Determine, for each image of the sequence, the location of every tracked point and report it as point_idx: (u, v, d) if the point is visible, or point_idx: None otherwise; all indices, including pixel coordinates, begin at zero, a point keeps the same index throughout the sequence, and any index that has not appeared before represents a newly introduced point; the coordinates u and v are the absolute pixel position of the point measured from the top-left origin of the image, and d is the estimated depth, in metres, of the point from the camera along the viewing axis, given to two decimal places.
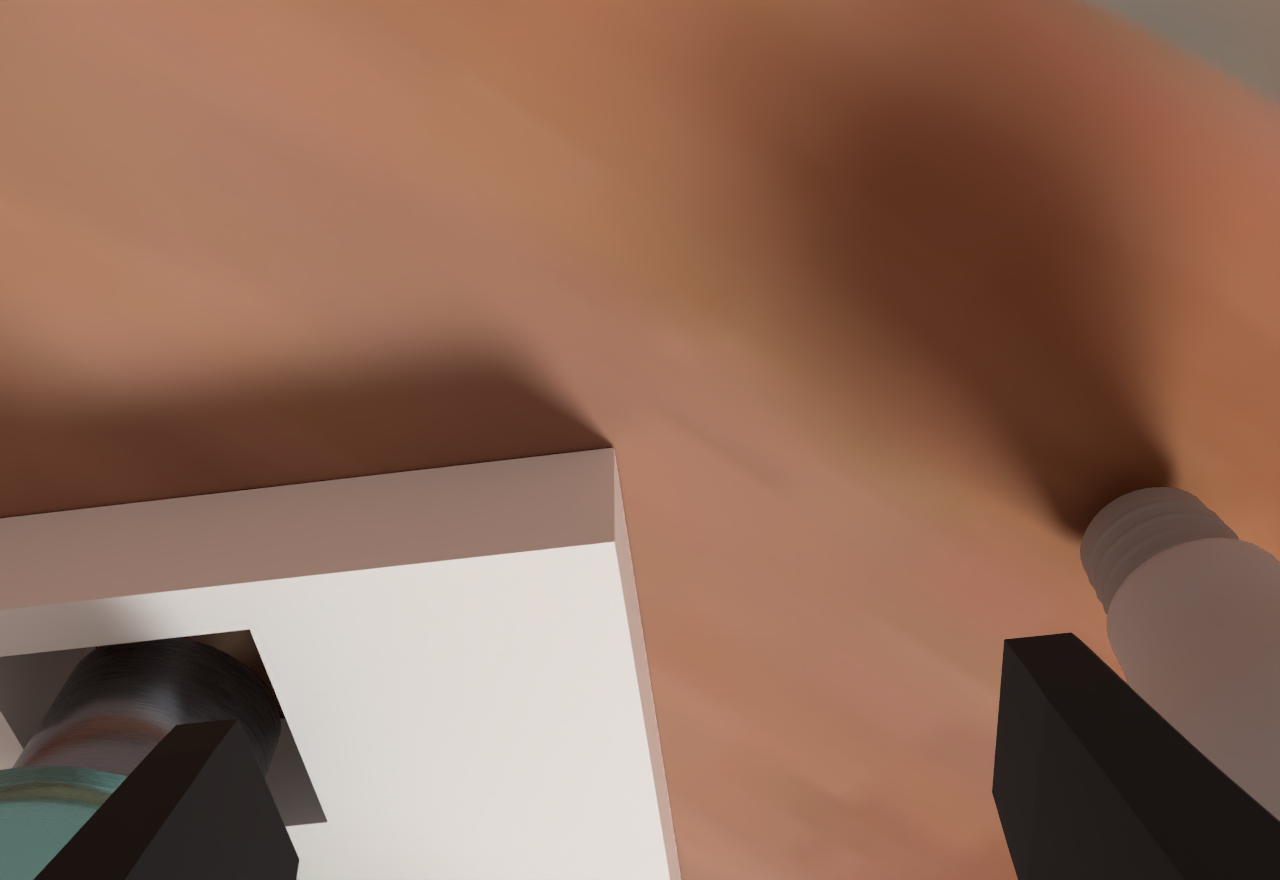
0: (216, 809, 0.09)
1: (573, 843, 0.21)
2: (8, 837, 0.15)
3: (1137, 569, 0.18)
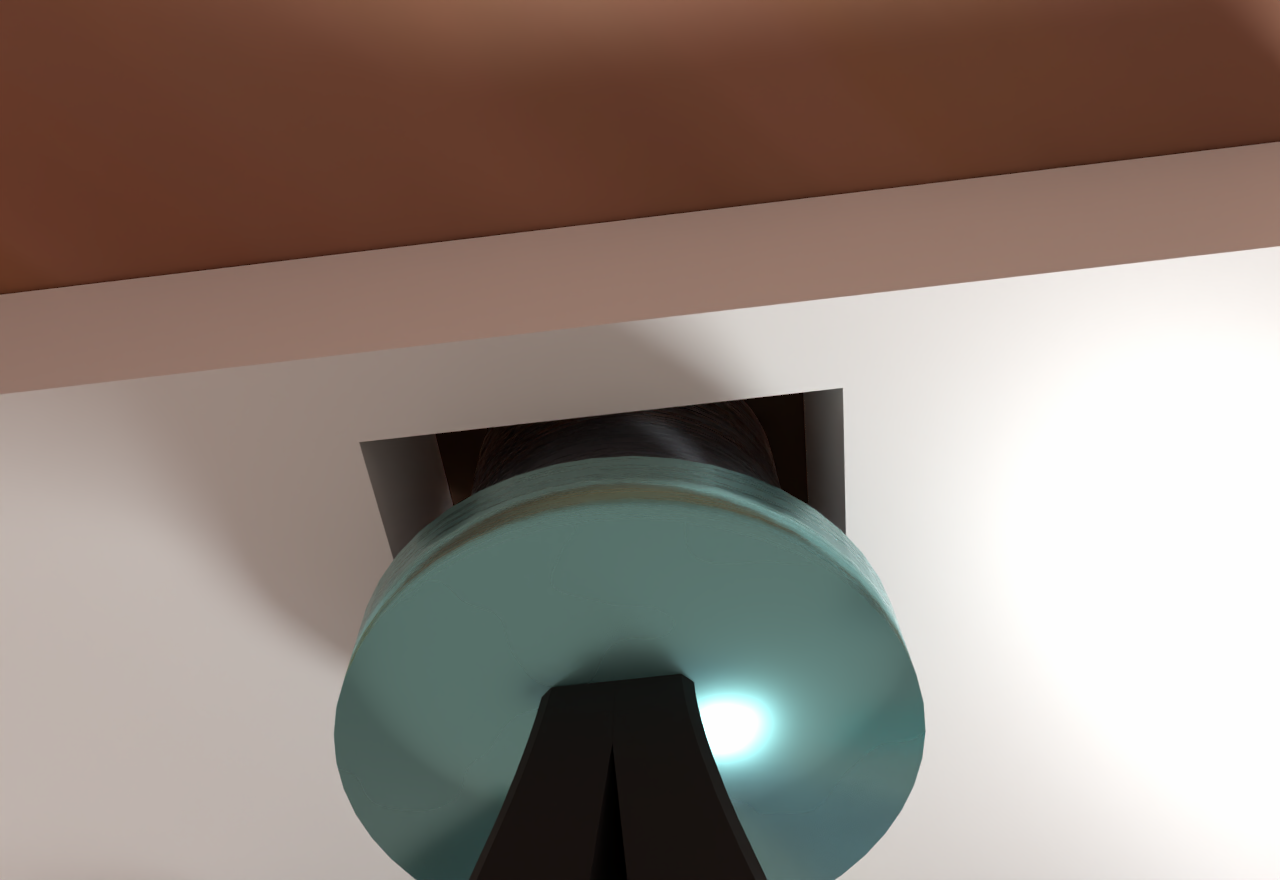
0: None
1: (1211, 775, 0.14)
2: (617, 554, 0.09)
3: None
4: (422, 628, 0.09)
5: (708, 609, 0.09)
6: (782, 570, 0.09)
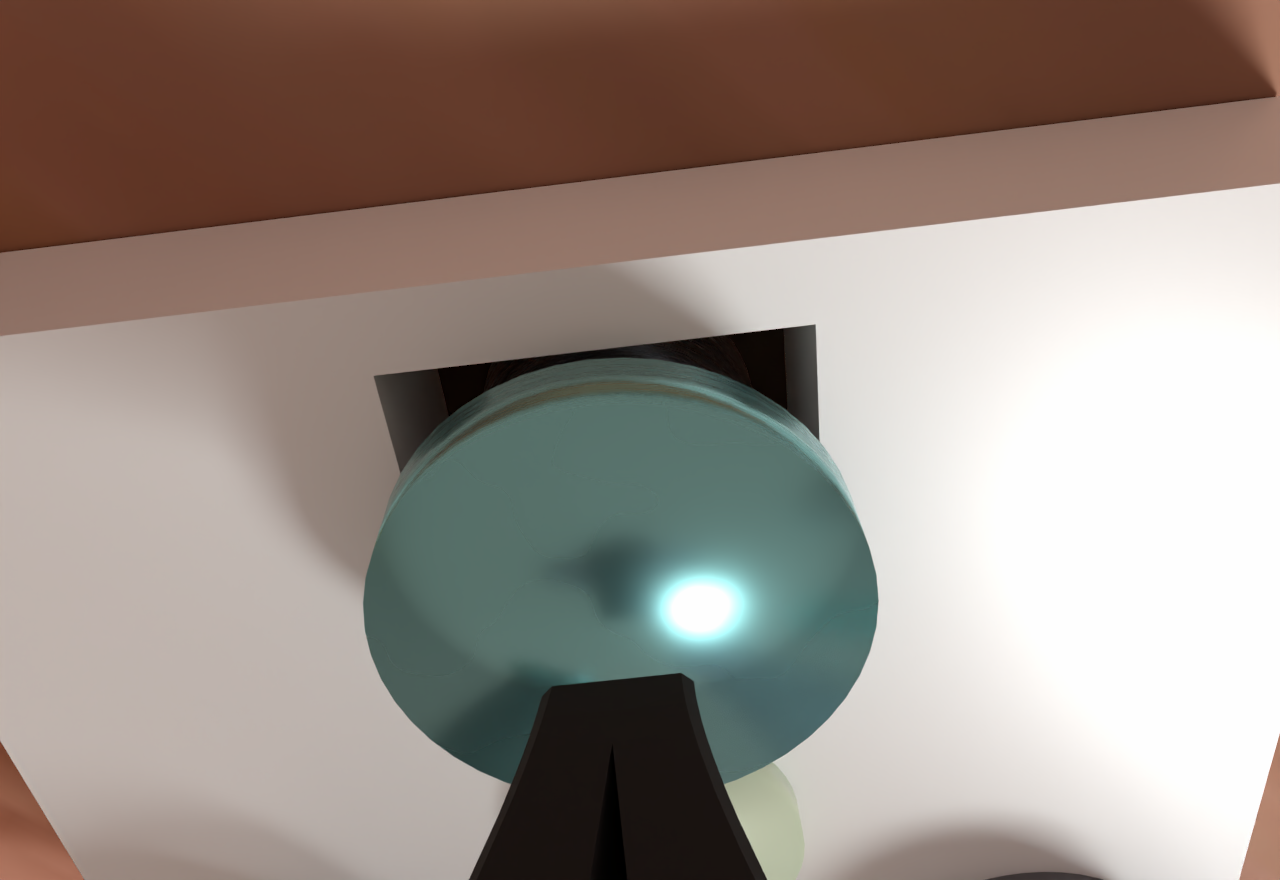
0: None
1: (1162, 694, 0.15)
2: (609, 435, 0.10)
3: None
4: (440, 503, 0.11)
5: (687, 486, 0.11)
6: (751, 450, 0.10)
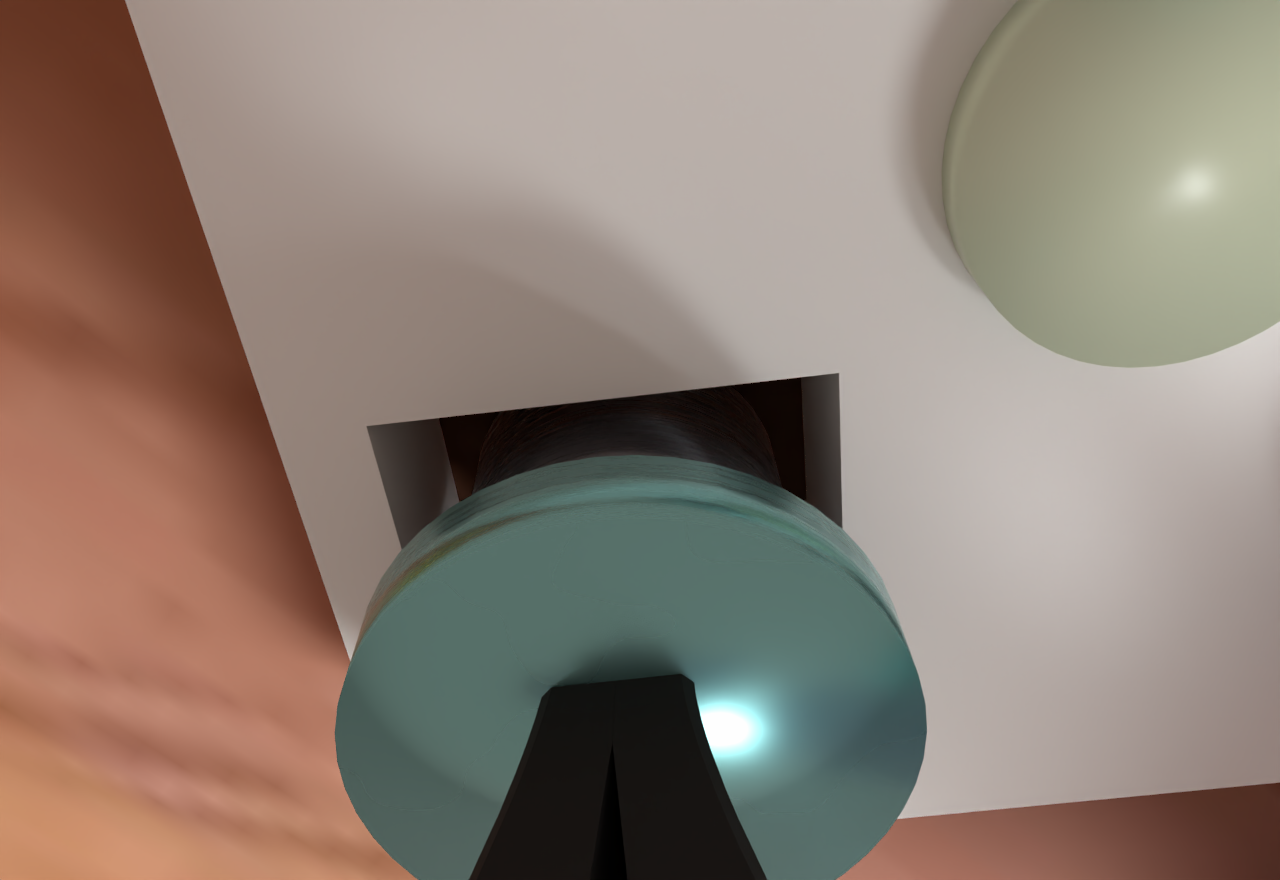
0: None
1: None
2: None
3: None
4: None
5: None
6: None
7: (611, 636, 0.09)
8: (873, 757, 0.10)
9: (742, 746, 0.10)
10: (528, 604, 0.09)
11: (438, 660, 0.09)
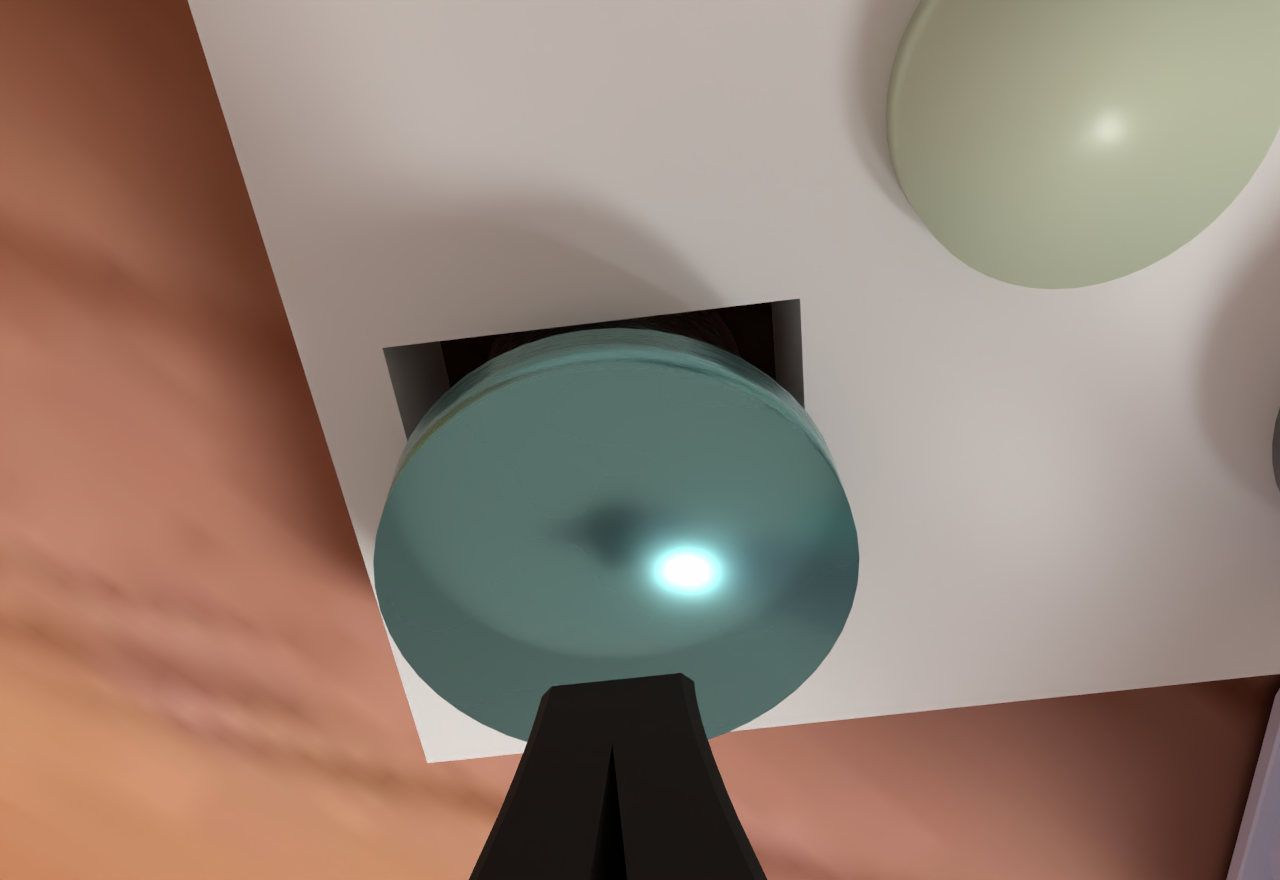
0: None
1: None
2: None
3: None
4: None
5: None
6: None
7: (599, 473, 0.11)
8: (816, 582, 0.12)
9: (708, 572, 0.12)
10: (532, 444, 0.11)
11: (459, 494, 0.12)
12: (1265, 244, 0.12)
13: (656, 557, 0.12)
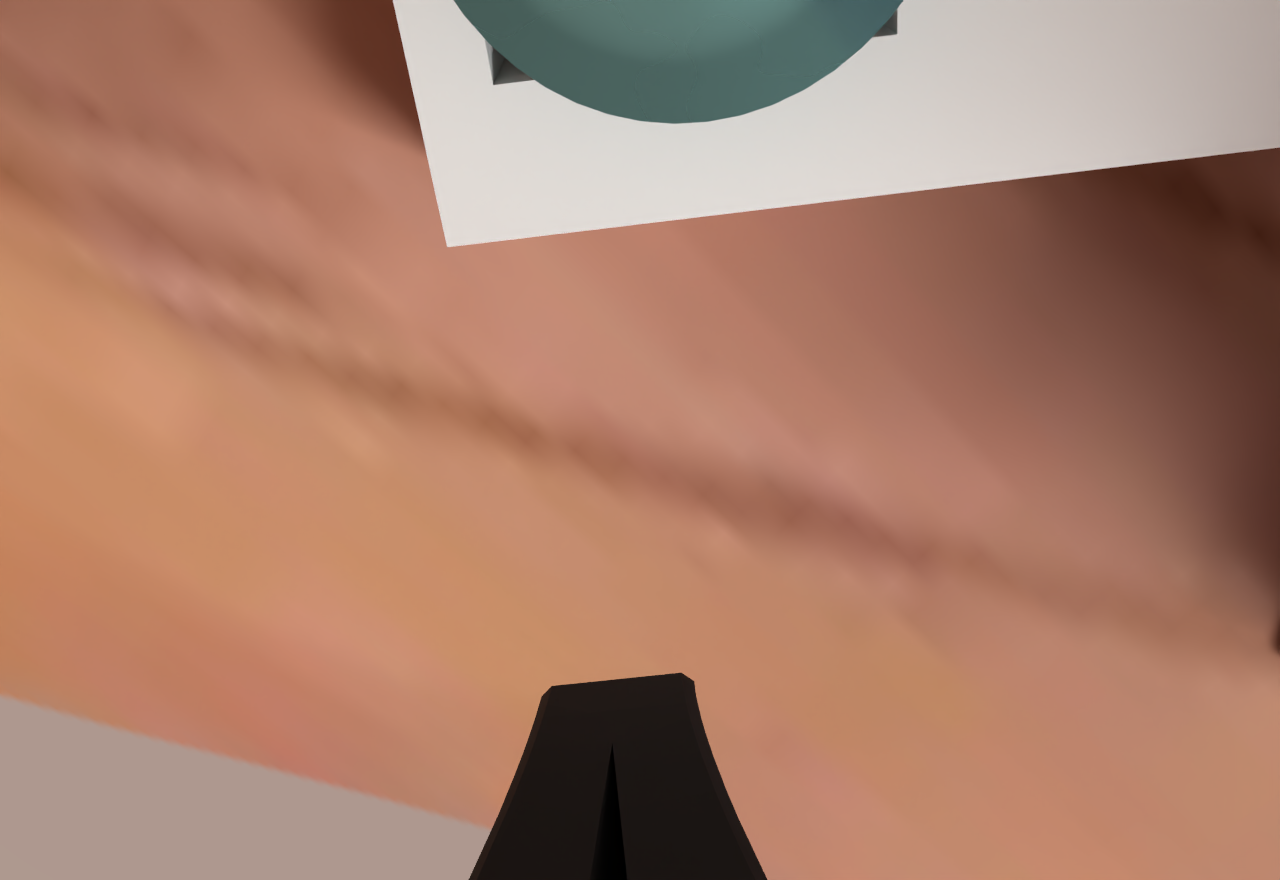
0: None
1: None
2: None
3: None
4: None
5: None
6: None
7: None
8: None
9: None
10: None
11: None
12: None
13: None
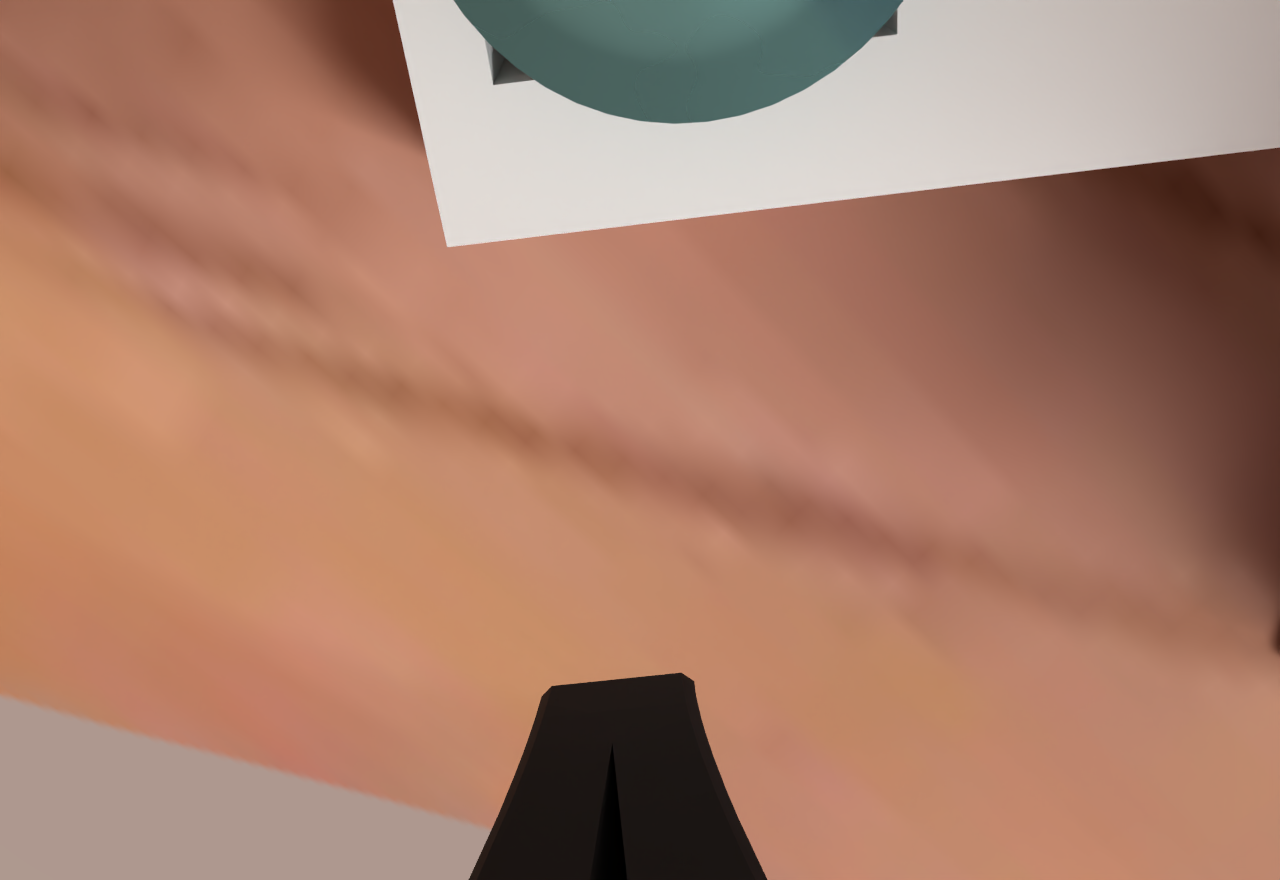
0: None
1: None
2: None
3: None
4: None
5: None
6: None
7: None
8: None
9: None
10: None
11: None
12: None
13: None
